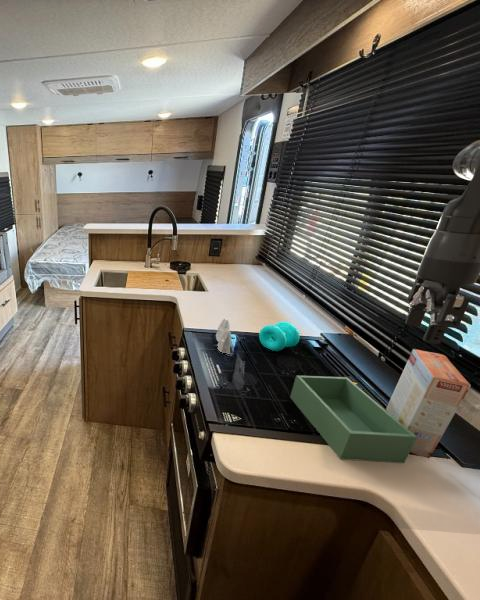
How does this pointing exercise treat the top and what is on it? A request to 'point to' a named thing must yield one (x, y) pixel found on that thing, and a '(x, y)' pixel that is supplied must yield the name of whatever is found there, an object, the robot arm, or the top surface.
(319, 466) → the top surface
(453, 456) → the top surface
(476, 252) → the robot arm
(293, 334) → the donuts
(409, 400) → the cracker box
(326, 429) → the tote
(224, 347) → the grey jagged slab
